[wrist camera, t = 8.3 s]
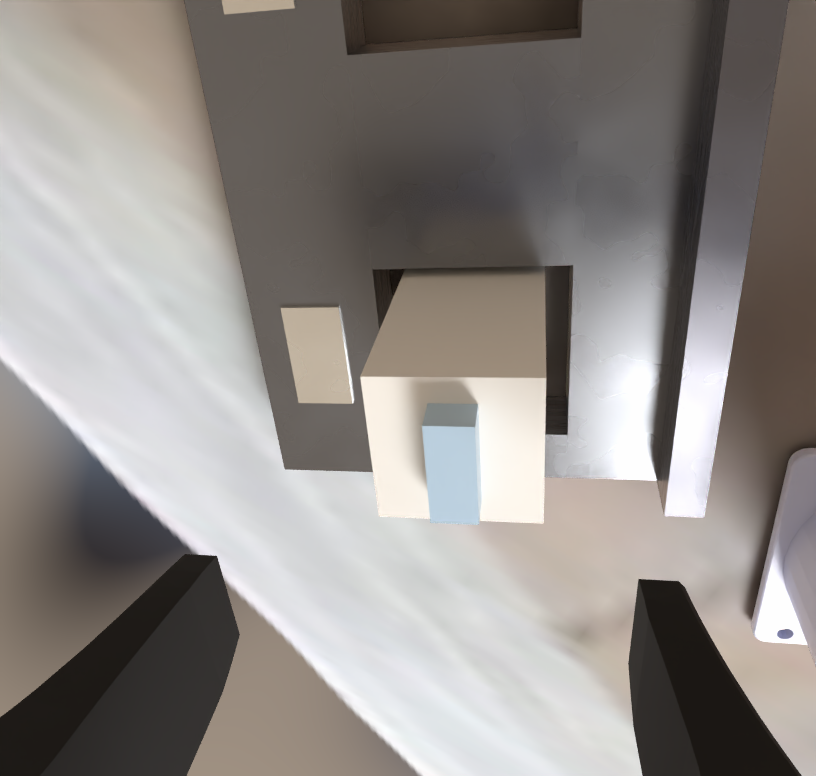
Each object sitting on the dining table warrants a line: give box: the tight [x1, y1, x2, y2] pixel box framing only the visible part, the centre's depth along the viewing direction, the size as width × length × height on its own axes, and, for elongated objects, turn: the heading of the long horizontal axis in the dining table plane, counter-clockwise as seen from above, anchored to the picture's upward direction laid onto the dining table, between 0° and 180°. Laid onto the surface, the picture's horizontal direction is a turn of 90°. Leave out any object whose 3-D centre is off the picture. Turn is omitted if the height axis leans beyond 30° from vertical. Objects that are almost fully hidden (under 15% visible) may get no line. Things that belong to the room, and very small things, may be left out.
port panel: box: [184, 0, 789, 517], centre depth 17 cm, size 12×18×4 cm, turn 5°
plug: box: [360, 266, 546, 525], centre depth 17 cm, size 4×4×8 cm
